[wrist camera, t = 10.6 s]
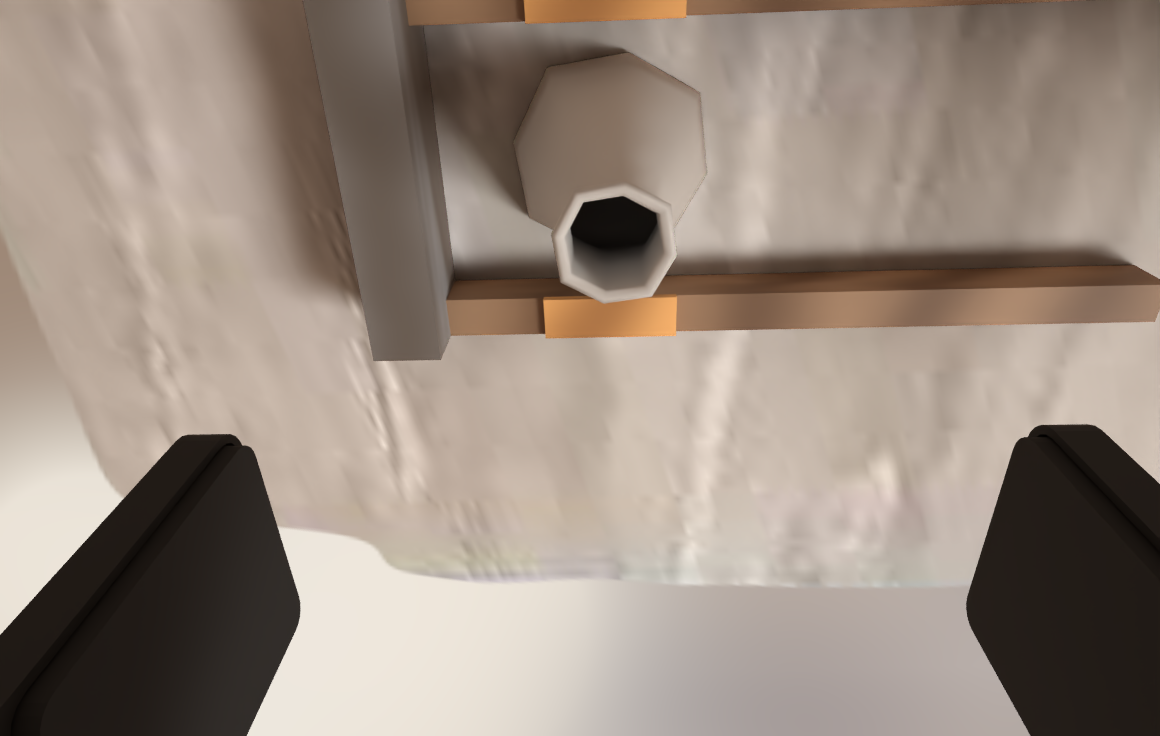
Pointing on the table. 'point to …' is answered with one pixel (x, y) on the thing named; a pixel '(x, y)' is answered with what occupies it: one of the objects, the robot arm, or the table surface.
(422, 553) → the table surface
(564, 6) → the guide channel
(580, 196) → the flask
